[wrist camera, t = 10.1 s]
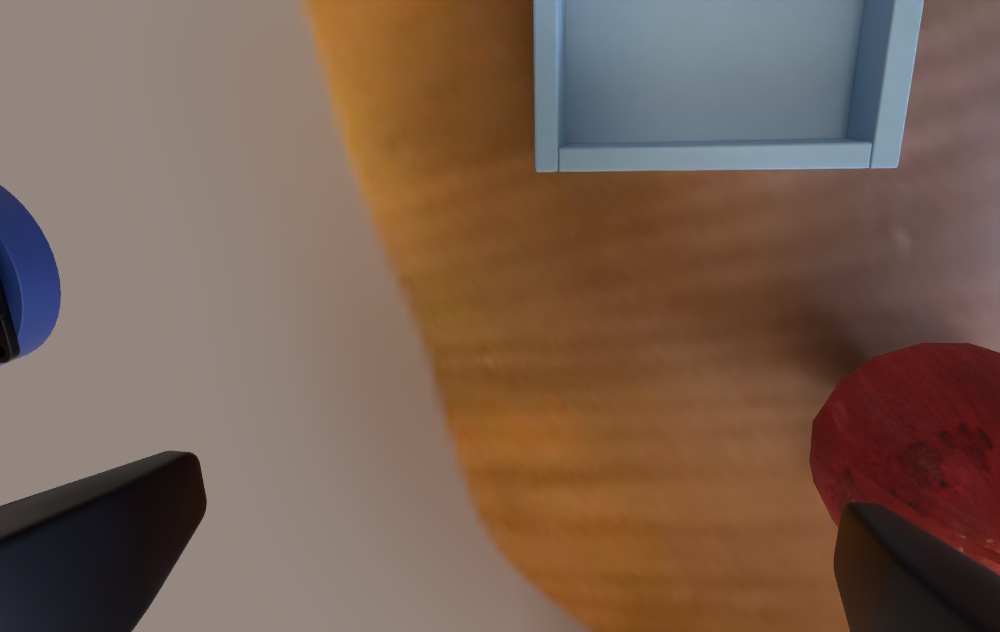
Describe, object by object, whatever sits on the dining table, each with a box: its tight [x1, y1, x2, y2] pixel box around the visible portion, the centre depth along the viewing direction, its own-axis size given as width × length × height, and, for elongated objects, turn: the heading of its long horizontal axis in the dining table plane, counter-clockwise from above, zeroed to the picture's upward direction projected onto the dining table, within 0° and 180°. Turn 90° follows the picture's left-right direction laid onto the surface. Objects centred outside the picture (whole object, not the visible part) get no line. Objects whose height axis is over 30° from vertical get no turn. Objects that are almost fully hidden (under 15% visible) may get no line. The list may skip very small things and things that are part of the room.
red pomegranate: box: [810, 343, 1000, 575], centre depth 15 cm, size 6×6×8 cm
